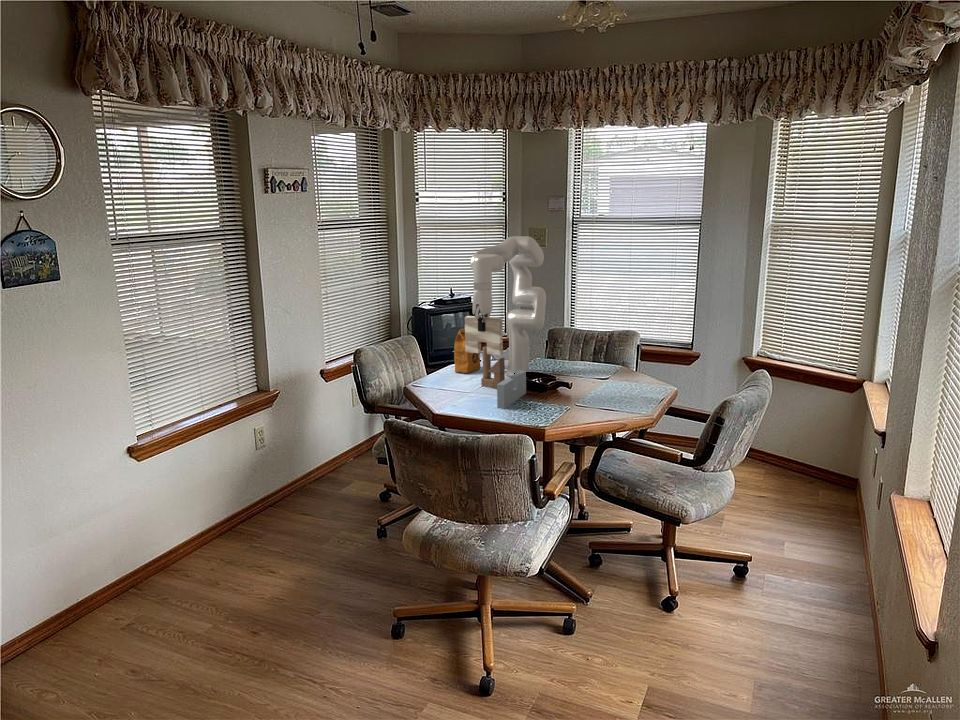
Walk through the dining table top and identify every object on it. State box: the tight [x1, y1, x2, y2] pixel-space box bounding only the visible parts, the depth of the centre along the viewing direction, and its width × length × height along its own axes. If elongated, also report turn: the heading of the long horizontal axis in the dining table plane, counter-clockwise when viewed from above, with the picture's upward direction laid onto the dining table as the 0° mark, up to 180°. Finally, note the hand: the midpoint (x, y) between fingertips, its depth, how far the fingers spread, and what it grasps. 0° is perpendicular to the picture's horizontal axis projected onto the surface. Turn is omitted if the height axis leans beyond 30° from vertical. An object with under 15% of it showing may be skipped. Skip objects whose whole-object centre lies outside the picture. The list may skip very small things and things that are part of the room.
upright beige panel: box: [464, 315, 504, 356], centre depth 281 cm, size 3×16×15 cm, turn 64°
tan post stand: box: [480, 345, 506, 390], centre depth 301 cm, size 4×11×18 cm, turn 52°
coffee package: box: [453, 327, 481, 374], centre depth 328 cm, size 10×12×22 cm
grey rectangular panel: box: [496, 370, 527, 410], centre depth 281 cm, size 24×3×10 cm, turn 155°
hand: (483, 330), depth 280 cm, fingers closed on upright beige panel, 3 cm apart
